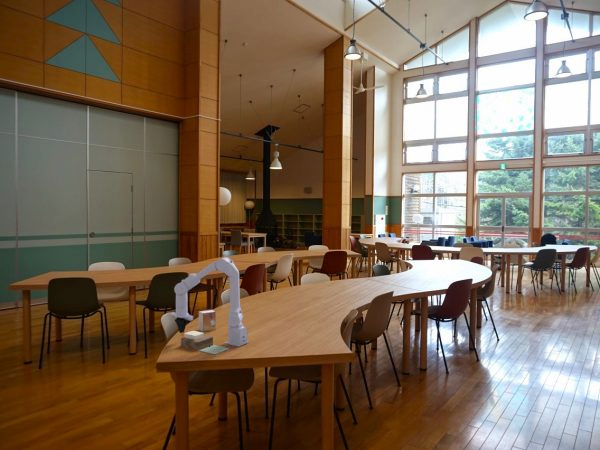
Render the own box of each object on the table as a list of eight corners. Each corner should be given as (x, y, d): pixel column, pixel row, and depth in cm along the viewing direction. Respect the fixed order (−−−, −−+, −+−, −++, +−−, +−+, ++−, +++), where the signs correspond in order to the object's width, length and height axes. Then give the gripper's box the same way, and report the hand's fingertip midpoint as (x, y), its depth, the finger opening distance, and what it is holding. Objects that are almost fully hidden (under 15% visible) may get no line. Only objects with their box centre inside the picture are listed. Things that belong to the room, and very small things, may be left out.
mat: (229, 349, 207) (229, 348, 207) (214, 354, 199) (214, 353, 199) (214, 345, 212) (214, 344, 212) (199, 350, 204) (199, 350, 204)
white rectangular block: (204, 337, 213) (204, 333, 213) (195, 339, 208) (195, 335, 208) (193, 334, 218) (193, 330, 218) (184, 337, 213) (184, 333, 213)
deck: (212, 345, 213) (212, 337, 213) (198, 350, 205) (198, 342, 204) (195, 341, 219) (195, 333, 219) (180, 346, 211) (180, 338, 211)
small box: (202, 332, 237) (202, 313, 237) (198, 329, 241) (198, 311, 241) (215, 329, 242) (215, 311, 241) (211, 327, 246) (211, 309, 246)
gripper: (197, 306, 217) (197, 332, 217) (178, 303, 225) (178, 328, 225) (187, 308, 211) (187, 336, 211) (167, 305, 219) (167, 331, 219)
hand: (181, 332), depth 218 cm, fingers closed
